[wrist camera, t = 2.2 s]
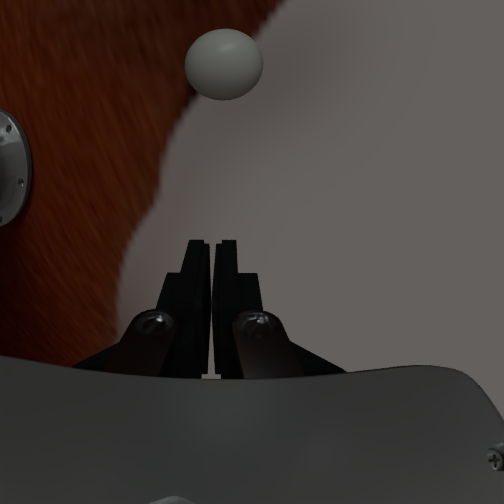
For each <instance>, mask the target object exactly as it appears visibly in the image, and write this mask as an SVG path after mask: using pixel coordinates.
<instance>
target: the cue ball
mask: <svg viewBox="0 0 504 504" xmlns="http://www.w3.org/2000/svg"><path fill="white" fill-rule="evenodd" d="M262 70H263V57H262V53H261V51H260V49H259V47H258V45H257V44H256V43H255V41H254V40H253V39H252V38H250V37H249V36H248V35H246V34H244V33H242V32H240V31H237V30H232V29H218V30H214V31H211V32H208V33H206V34H204V35H202V36H201V37H199V38H198V39H197V40H196V41H195V42H194V43H193V44H192V46H191V47H190V49H189V51H188V53H187V56H186V59H185V72H186V76H187V78H188V80H189V82H190V84H191V85H192V87H193V88H194V89H195V90H196V91H197V92H199V93H200V94H202V95H204V96H205V97H208V98H211V99H215V100H231V99H235V98H238V97H241V96H243V95H244V94H246V93H248V92H249V91H250V90H251V89H252V88H253V87H254V86H255V85H256V84H257V82H258V81H259V78H260V77H261V74H262Z"/></svg>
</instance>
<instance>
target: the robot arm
mask: <svg viewBox="0 0 504 504" xmlns="http://www.w3.org/2000/svg"><path fill="white" fill-rule="evenodd" d="M31 178H32V160H31V154H30V148H29V145H28V141H27V138H26V135H25V133H24V131H23V129H22V127H21V126H20V124H19V123H18V121H17V120H16V119H15V118H14V117H13V116H12V115H11V114H10V113H8V112H6V111H4V110H1V109H0V226H2V225H5V224H7V223H9V222H10V221H11V220H13V219H14V218H15V217H16V216H17V215H18V214H19V213H20V212H21V210H22V209H23V207H24V205H25V203H26V201H27V198H28V195H29V191H30V187H31ZM210 322H211V279H210V246H209V244H204V240H189V243H188V246H187V250H186V253H185V257H184V260H183V264H182V268H181V271H180V273H167V275H166V278H165V281H164V284H163V287H162V290H161V293H160V296H159V300H158V303H157V306H156V309H151V310H147V311H144V312H141V313H140V314H138V315H136V316H135V317H134V319H133V320H132V321H131V323H130V325H129V326H128V328H127V330H126V331H125V333H124V335H123V336H122V338H121V340H120V342H118V343H116V344H114V345H112V346H110V347H108V348H106V349H105V350H103V351H101V352H99V353H97V354H95V355H93V356H91V357H89V358H87V359H85V360H83V361H81V362H79V363H77V364H75V365H74V366H72V367H67V366H61V365H56V364H50V363H45V362H40V361H34V360H28V359H22V358H17V357H11V356H1V355H0V504H504V420H503V418H502V417H501V415H500V413H499V412H498V410H497V409H496V407H495V406H494V404H493V403H492V401H491V400H490V398H489V397H488V396H487V394H486V393H485V392H484V391H483V389H482V388H481V387H480V386H479V385H478V384H477V383H476V382H475V381H474V380H473V379H472V378H471V377H469V376H468V375H467V374H465V373H463V372H461V371H458V370H455V369H451V368H446V367H439V366H432V365H410V366H397V367H389V368H381V369H372V370H363V371H355V372H346V371H344V370H343V369H342V368H340V367H338V366H336V365H334V364H332V363H330V362H328V361H327V360H325V359H322V358H321V357H319V356H317V355H315V354H313V353H311V352H310V351H307V350H306V349H304V348H302V347H300V346H298V345H297V344H295V343H293V342H291V341H290V340H289V338H288V336H287V333H286V331H285V329H284V327H283V325H282V323H281V321H280V320H279V318H278V317H276V316H275V315H273V314H272V313H269V312H267V311H263V306H262V300H261V293H260V287H259V281H258V275H257V273H238V265H237V246H236V240H222V244H216V252H215V265H214V276H213V288H212V327H213V346H214V362H215V374H221V379H201V377H202V374H207V373H208V356H209V339H210Z"/></svg>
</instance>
